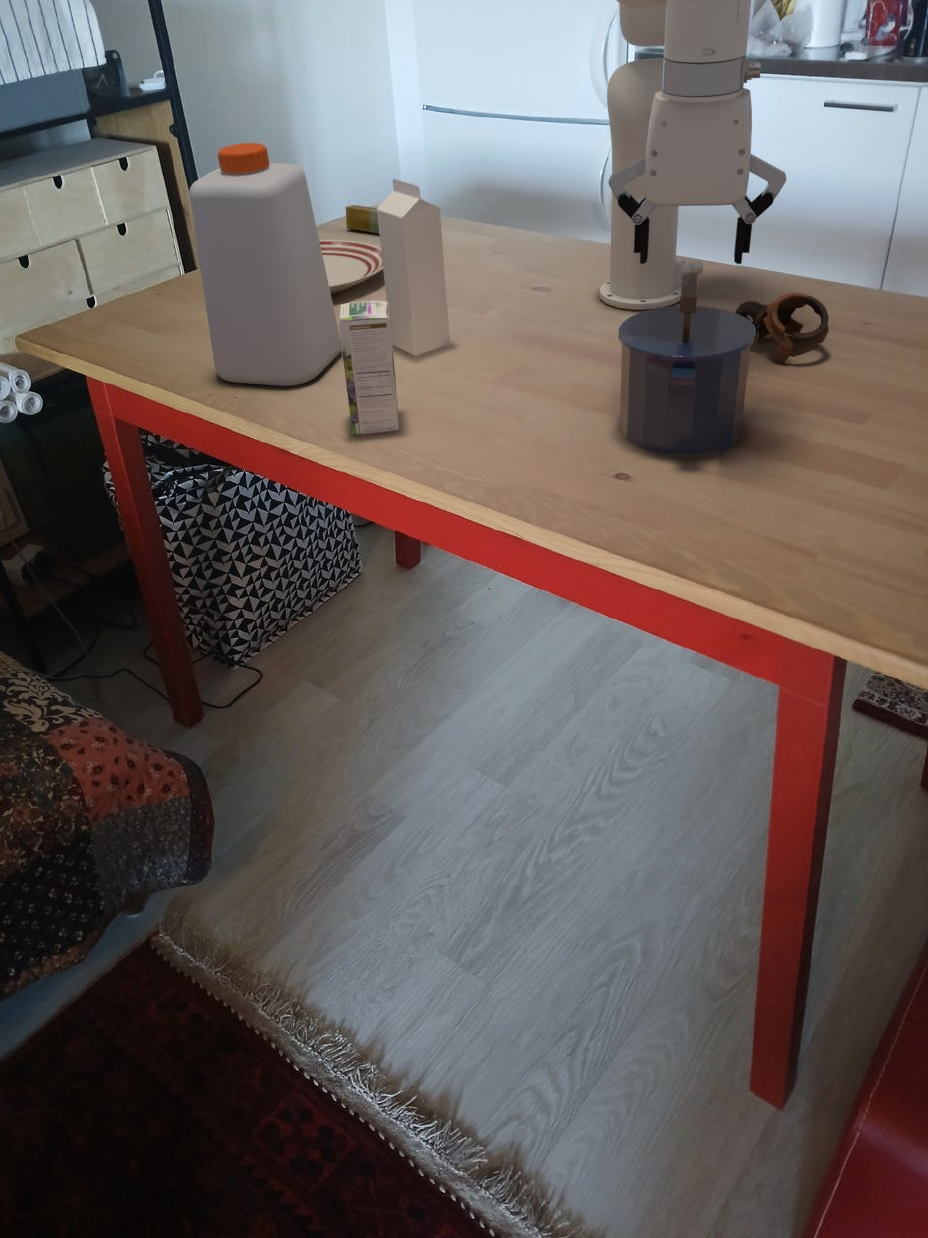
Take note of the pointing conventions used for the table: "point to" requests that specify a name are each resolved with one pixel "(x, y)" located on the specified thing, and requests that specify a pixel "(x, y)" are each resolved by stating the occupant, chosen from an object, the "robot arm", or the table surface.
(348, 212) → the medication box
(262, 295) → the plastic bottle
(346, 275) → the dinner plate
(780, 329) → the rusty metal shackles
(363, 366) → the syrup box
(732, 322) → the lid
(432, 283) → the milk
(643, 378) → the crock
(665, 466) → the table surface
